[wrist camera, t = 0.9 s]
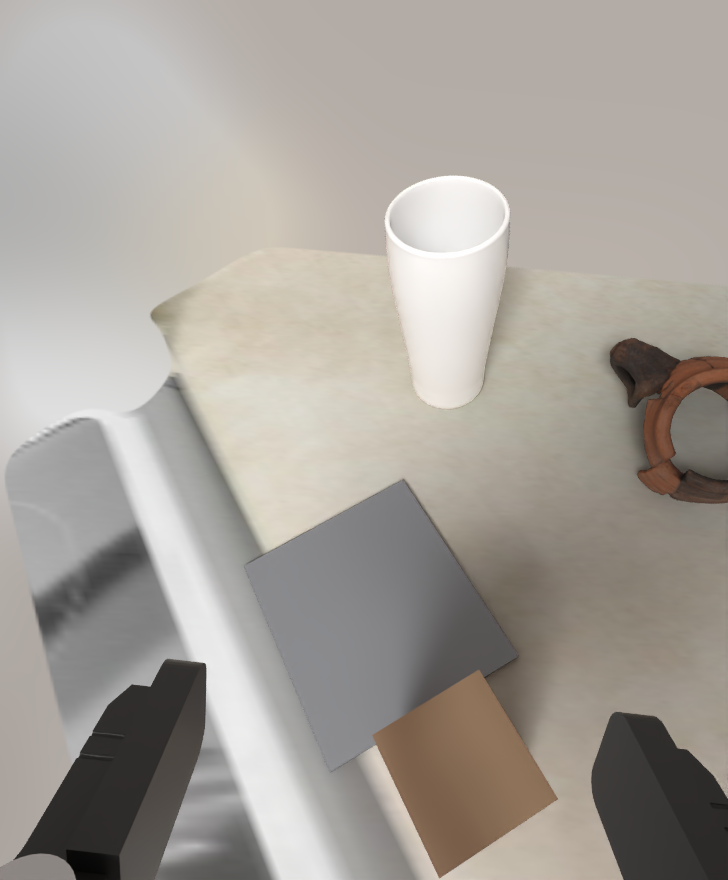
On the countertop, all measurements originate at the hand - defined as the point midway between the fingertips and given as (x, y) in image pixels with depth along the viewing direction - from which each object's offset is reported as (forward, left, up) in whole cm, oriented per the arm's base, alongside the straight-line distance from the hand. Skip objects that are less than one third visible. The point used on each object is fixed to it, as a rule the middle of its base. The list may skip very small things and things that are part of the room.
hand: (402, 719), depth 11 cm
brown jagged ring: (-24, -8, -22) cm, 34 cm away
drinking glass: (-14, -20, -22) cm, 33 cm away
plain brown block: (-1, +1, -22) cm, 22 cm away
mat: (-1, -8, -22) cm, 23 cm away
